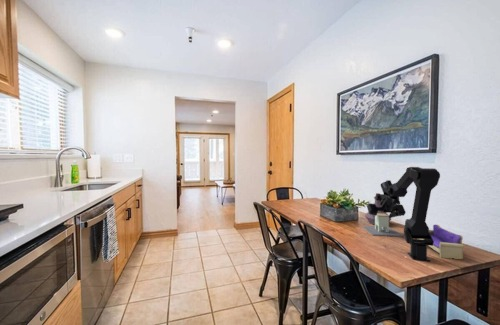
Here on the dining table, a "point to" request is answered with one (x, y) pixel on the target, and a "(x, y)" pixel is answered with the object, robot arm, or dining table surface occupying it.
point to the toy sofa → (446, 243)
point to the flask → (372, 219)
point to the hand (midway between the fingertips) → (380, 217)
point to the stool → (381, 222)
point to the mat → (382, 231)
